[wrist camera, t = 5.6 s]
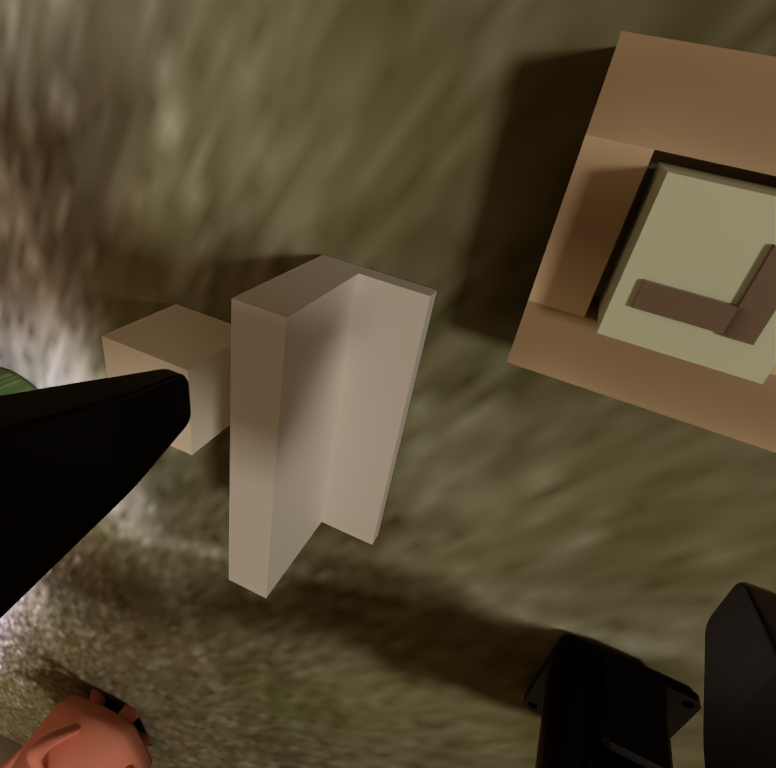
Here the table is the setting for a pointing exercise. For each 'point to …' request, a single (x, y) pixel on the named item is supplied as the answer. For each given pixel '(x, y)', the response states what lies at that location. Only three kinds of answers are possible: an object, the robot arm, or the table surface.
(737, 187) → the button
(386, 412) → the grey screen
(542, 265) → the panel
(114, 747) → the pink rounded piece
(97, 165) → the table surface
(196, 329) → the letter block
